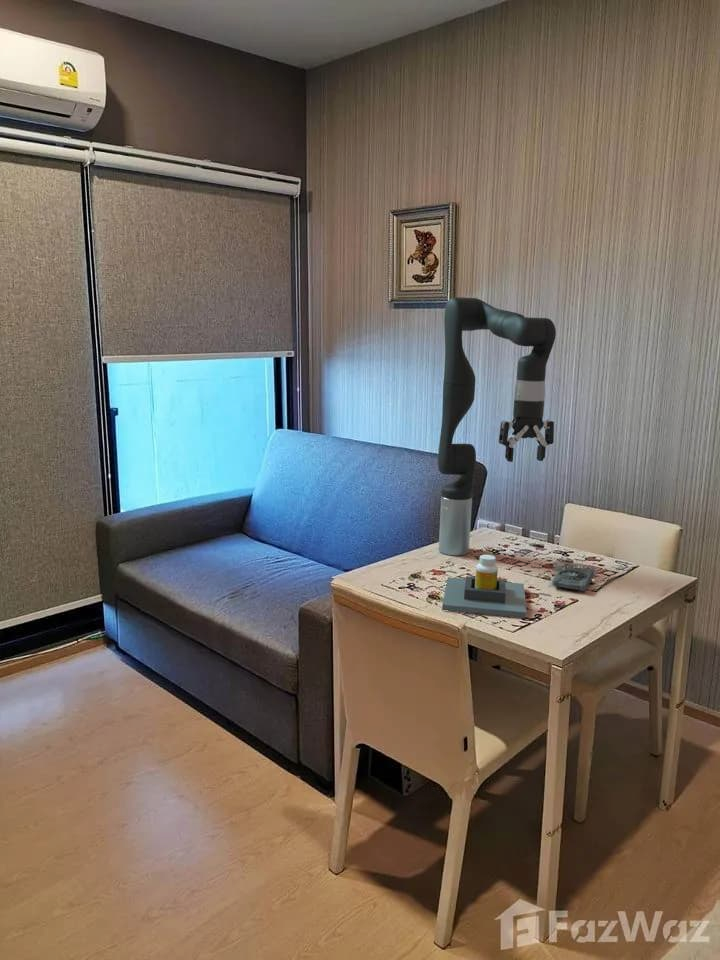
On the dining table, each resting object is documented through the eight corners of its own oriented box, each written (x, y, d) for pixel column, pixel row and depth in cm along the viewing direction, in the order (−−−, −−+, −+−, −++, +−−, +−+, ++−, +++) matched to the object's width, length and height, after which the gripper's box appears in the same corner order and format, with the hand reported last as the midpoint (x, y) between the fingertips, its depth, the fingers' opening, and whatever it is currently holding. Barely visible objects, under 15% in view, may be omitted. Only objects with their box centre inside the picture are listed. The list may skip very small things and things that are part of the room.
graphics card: (554, 559, 213) (597, 565, 208) (553, 571, 214) (596, 577, 209) (541, 577, 198) (587, 584, 193) (540, 590, 199) (586, 598, 194)
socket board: (447, 582, 201) (448, 568, 200) (523, 589, 197) (524, 574, 196) (442, 610, 181) (442, 595, 181) (525, 618, 178) (527, 602, 177)
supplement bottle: (496, 598, 186) (499, 561, 184) (474, 596, 187) (477, 559, 185) (495, 590, 191) (498, 554, 189) (474, 588, 192) (476, 552, 190)
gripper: (547, 396, 194) (542, 457, 197) (497, 396, 190) (493, 458, 194) (562, 399, 187) (556, 463, 190) (510, 400, 183) (505, 464, 187)
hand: (524, 460), depth 192 cm, fingers open, 8 cm apart
